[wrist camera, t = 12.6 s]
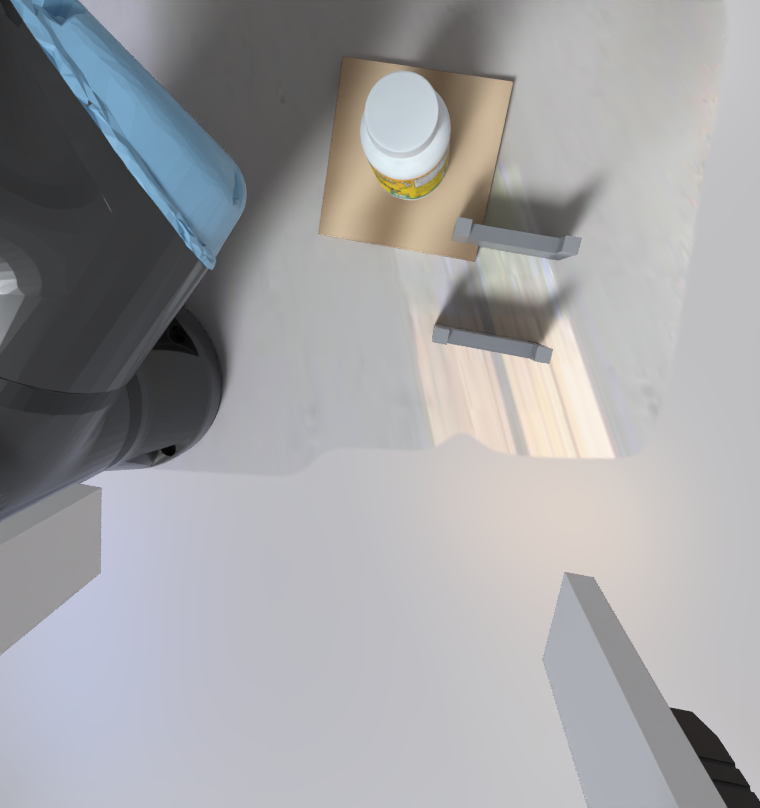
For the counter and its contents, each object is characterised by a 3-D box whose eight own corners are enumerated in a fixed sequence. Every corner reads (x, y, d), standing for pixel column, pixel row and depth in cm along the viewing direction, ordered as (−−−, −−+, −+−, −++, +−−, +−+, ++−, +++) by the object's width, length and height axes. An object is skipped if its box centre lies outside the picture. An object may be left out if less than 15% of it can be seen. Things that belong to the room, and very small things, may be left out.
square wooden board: (320, 234, 37) (318, 233, 37) (344, 60, 35) (343, 56, 34) (474, 261, 37) (475, 260, 36) (511, 85, 34) (513, 81, 33)
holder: (432, 336, 38) (432, 341, 33) (454, 228, 36) (457, 216, 31) (534, 355, 38) (549, 363, 33) (561, 246, 36) (581, 237, 31)
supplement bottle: (462, 168, 35) (473, 120, 25) (402, 217, 36) (392, 188, 27) (418, 104, 34) (412, 31, 25) (358, 156, 35) (331, 104, 26)
